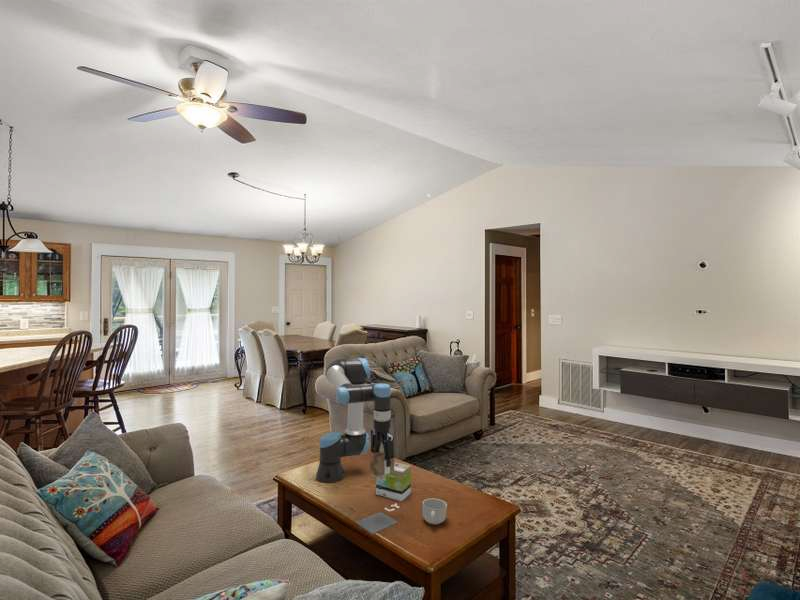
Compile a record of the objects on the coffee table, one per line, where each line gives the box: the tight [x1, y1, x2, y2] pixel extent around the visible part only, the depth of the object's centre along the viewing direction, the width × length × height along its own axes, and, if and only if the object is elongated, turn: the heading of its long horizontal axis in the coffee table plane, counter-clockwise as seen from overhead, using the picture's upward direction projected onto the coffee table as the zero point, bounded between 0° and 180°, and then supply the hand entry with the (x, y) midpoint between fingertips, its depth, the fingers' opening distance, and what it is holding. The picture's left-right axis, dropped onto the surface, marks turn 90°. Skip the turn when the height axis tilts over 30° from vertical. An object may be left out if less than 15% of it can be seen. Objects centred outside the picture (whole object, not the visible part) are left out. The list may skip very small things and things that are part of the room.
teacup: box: [422, 497, 448, 526], centre depth 191 cm, size 14×11×8 cm
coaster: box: [355, 511, 399, 535], centre depth 191 cm, size 12×14×1 cm
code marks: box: [384, 502, 400, 512], centre depth 204 cm, size 4×8×1 cm, turn 131°
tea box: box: [375, 461, 412, 502], centre depth 218 cm, size 15×10×15 cm, turn 62°
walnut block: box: [369, 449, 395, 477], centre depth 194 cm, size 6×9×8 cm, turn 132°
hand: (382, 471), depth 194 cm, fingers closed on walnut block, 6 cm apart
